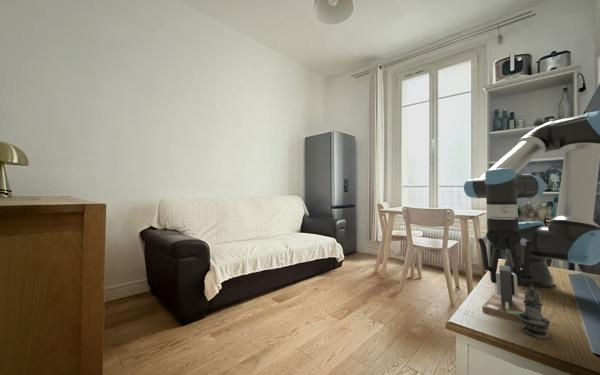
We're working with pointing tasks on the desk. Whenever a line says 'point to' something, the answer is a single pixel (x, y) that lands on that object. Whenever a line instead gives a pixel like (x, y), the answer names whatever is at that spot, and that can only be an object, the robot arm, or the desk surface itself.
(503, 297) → the grey block
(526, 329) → the dark grey chess piece
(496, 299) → the board
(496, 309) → the dial marks
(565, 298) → the desk surface
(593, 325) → the desk surface
